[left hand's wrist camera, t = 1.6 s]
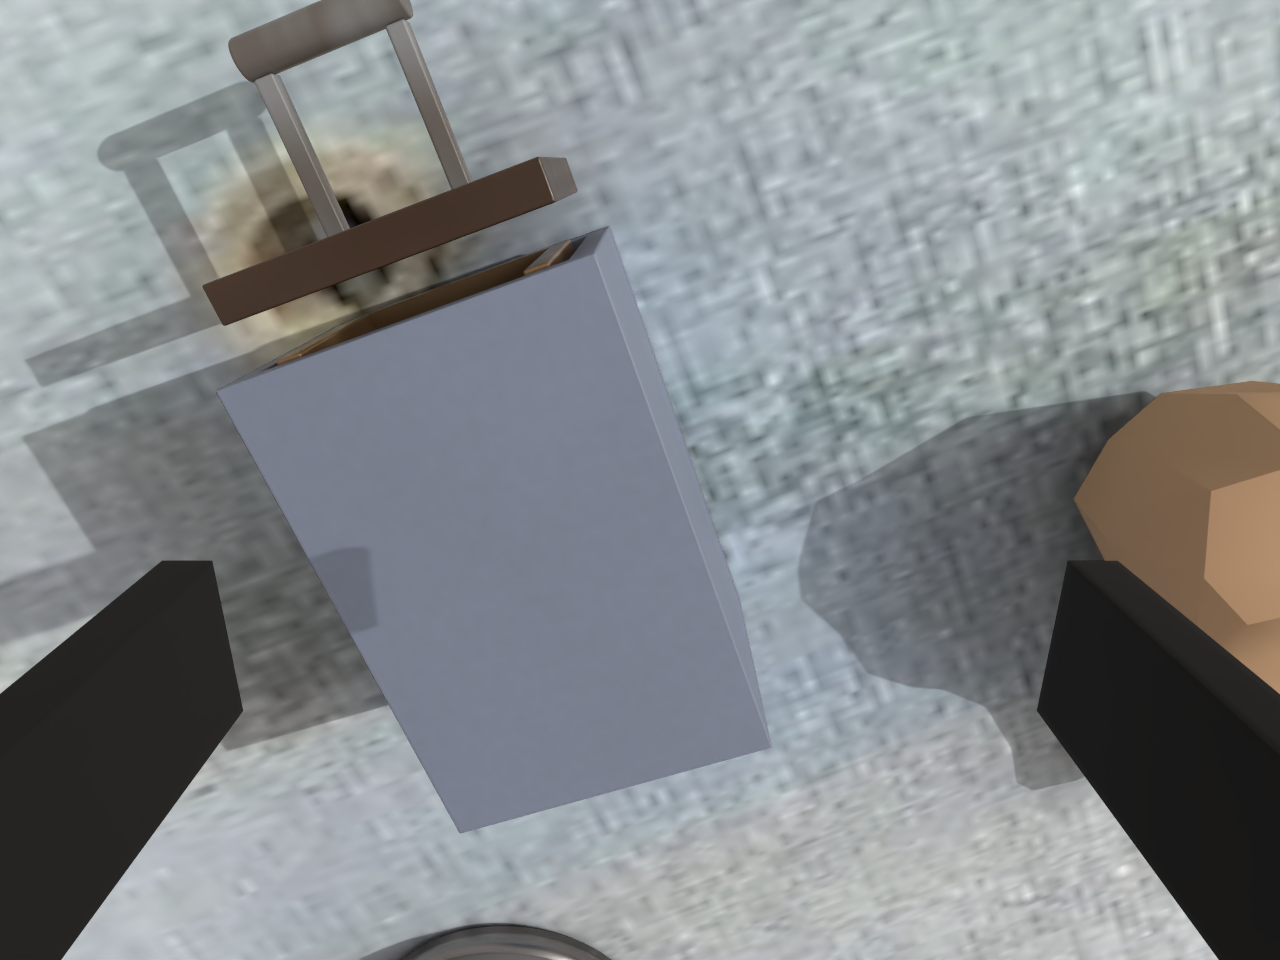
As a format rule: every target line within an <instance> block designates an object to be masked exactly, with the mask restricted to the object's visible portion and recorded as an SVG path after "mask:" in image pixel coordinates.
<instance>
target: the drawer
mask: <svg viewBox="0 0 1280 960" xmlns="http://www.w3.org/2000/svg"><path fill="white" fill-rule="evenodd" d="M412 16H413V10H412V6H411V3H410V0H321V1H318V2H316V3H314V4H311V5H309V6H306V7H304V8H302V9H299V10H297V11H295V12H292V13H290V14H288V15H285V16H283V17H281V18H278V19H276V20H273V21H271V22H269V23H266V24H264V25H262V26H259V27H257V28H255V29H252V30H250V31H247V32H245V33H243V34H240V35H238V36H236V37H233V38H231V39H230V40H229V43H228V46H229V51H230V54H231V56H232V59H233V61H234V63H235V64H236V66H237V68H238V69H239V71H240V72H241V73H242V75H243V76H244V77H245V78H246V79H247V80H248V81H250V82H254V83H256V86H257V88H258V90H259V92H260V94H261V96H262V98H263V101H264V103H265V105H266V107H267V109H268V111H269V113H270V115H271V118H272V120H273V122H274V124H275V126H276V128H277V130H278V133H279V135H280V137H281V139H282V141H283V143H284V145H285V147H286V150H287V152H288V154H289V156H290V158H291V160H292V162H293V164H294V167H295V169H296V171H297V173H298V175H299V177H300V179H301V182H302V184H303V186H304V188H305V190H306V192H307V194H308V196H309V199H310V201H311V203H312V205H313V207H314V209H315V211H316V214H317V216H318V218H319V220H320V222H321V224H322V226H323V228H324V231H325V233H326V235H327V238H324V239H322V240H319V241H317V242H314V243H311V244H309V245H306V246H303V247H301V248H298V249H296V250H293V251H290V252H288V253H285V254H283V255H280V256H277V257H275V258H272V259H270V260H267V261H264V262H262V263H259V264H256V265H254V266H251V267H249V268H246V269H243V270H241V271H238V272H236V273H233V274H230V275H228V276H225V277H223V278H220V279H217V280H215V281H212V282H209V283H207V284H204V285H203V289H204V291H205V292H206V294H207V296H208V298H209V300H210V302H211V304H212V306H213V307H214V309H215V311H216V313H217V315H218V317H219V319H220V321H221V322H222V324H223V325H224V326H226V325H229V324H231V323H234V322H237V321H239V320H242V319H245V318H247V317H250V316H253V315H255V314H258V313H261V312H263V311H266V310H269V309H271V308H274V307H277V306H279V305H282V304H285V303H287V302H290V301H293V300H295V299H298V298H301V297H303V296H306V295H309V294H311V293H314V292H317V291H319V290H322V289H325V288H327V287H330V286H333V285H335V284H338V283H341V282H343V281H346V280H349V279H351V278H354V277H357V276H359V275H362V274H365V273H367V272H370V271H373V270H375V269H378V268H381V267H383V266H386V265H389V264H391V263H394V262H397V261H400V260H402V259H405V258H408V257H410V256H413V255H416V254H418V253H421V252H424V251H426V250H429V249H432V248H434V247H437V246H440V245H442V244H445V243H448V242H450V241H453V240H456V239H458V238H461V237H464V236H466V235H469V234H472V233H474V232H477V231H480V230H482V229H485V228H488V227H490V226H493V225H496V224H498V223H501V222H504V221H506V220H509V219H512V218H514V217H517V216H520V215H522V214H525V213H528V212H530V211H533V210H536V209H538V208H541V207H544V206H546V205H549V204H552V203H554V202H557V201H559V200H561V199H563V198H565V197H567V196H570V195H572V194H574V193H576V192H577V188H576V185H575V182H574V179H573V176H572V174H571V171H570V168H569V165H568V162H567V160H566V158H552V157H536V158H533V159H531V160H528V161H525V162H523V163H520V164H518V165H515V166H512V167H510V168H507V169H505V170H502V171H499V172H497V173H494V174H492V175H489V176H486V177H484V178H481V179H478V180H476V181H472V179H471V176H470V174H469V171H468V169H467V166H466V164H465V161H464V159H463V156H462V154H461V151H460V149H459V146H458V144H457V141H456V139H455V136H454V134H453V131H452V129H451V126H450V124H449V121H448V119H447V116H446V114H445V111H444V109H443V106H442V104H441V101H440V99H439V96H438V94H437V91H436V89H435V86H434V84H433V81H432V79H431V76H430V73H429V71H428V68H427V66H426V63H425V61H424V58H423V56H422V53H421V51H420V48H419V46H418V43H417V41H416V38H415V36H414V33H413V31H412V28H411V26H410V23H409V22H407V21H406V20H408V19H410V18H412ZM384 29H386V30H387V32H388V35H389V37H390V40H391V42H392V44H393V47H394V49H395V52H396V54H397V57H398V59H399V62H400V64H401V66H402V69H403V71H404V74H405V76H406V79H407V81H408V84H409V86H410V88H411V91H412V93H413V96H414V98H415V101H416V103H417V106H418V108H419V111H420V113H421V115H422V118H423V120H424V123H425V125H426V128H427V130H428V133H429V135H430V137H431V140H432V142H433V145H434V147H435V150H436V152H437V155H438V157H439V159H440V162H441V164H442V167H443V169H444V172H445V174H446V177H447V179H448V182H449V184H450V186H451V189H452V190H450V191H447V192H444V193H442V194H439V195H437V196H434V197H431V198H429V199H426V200H424V201H421V202H418V203H416V204H413V205H411V206H408V207H405V208H403V209H400V210H397V211H395V212H392V213H390V214H387V215H384V216H382V217H379V218H377V219H374V220H371V221H369V222H366V223H364V224H361V225H358V226H356V227H353V228H349V226H348V223H347V221H346V219H345V217H344V215H343V213H342V210H341V208H340V206H339V204H338V202H337V199H336V197H335V195H334V193H333V191H332V189H331V186H330V184H329V182H328V180H327V178H326V175H325V173H324V171H323V169H322V167H321V165H320V162H319V160H318V158H317V156H316V154H315V151H314V149H313V147H312V145H311V143H310V141H309V138H308V136H307V134H306V132H305V130H304V127H303V125H302V123H301V121H300V119H299V117H298V114H297V112H296V110H295V108H294V106H293V103H292V101H291V99H290V97H289V95H288V92H287V90H286V88H285V86H284V84H283V82H282V79H281V77H280V76H279V75H276V74H278V73H280V72H282V71H285V70H287V69H290V68H292V67H294V66H297V65H299V64H302V63H304V62H307V61H309V60H311V59H314V58H316V57H319V56H321V55H323V54H326V53H328V52H331V51H333V50H336V49H338V48H340V47H343V46H345V45H348V44H350V43H352V42H355V41H357V40H360V39H362V38H364V37H367V36H369V35H372V34H374V33H377V32H379V31H381V30H384ZM574 252H575V249H574V247H573V244H572V241H571V240H565V241H563V242H560V243H557V244H554V245H552V246H549V247H546V248H543V249H541V250H538V251H535V252H533V253H530V254H527V255H524V256H522V257H519V258H516V259H514V260H511V261H508V262H505V263H503V264H500V265H497V266H495V267H492V268H489V269H486V270H484V271H481V272H478V273H475V274H473V275H470V276H467V277H465V278H462V279H459V280H456V281H454V282H451V283H448V284H446V285H443V286H440V287H437V288H435V289H432V290H429V291H427V292H424V293H421V294H418V295H416V296H413V297H410V298H407V299H405V300H402V301H399V302H397V303H394V304H391V305H388V306H386V307H383V308H380V309H378V310H375V311H372V312H369V313H367V314H364V315H361V316H358V317H356V318H355V319H353V320H351V321H349V322H347V323H345V324H343V325H342V326H340V327H338V328H336V329H334V330H332V331H330V332H329V333H327V334H325V335H323V336H321V337H319V338H318V339H316V340H314V341H312V342H310V343H308V344H307V345H305V346H303V347H301V348H299V349H297V350H295V351H294V352H292V353H290V354H288V355H286V356H284V357H283V358H281V359H279V360H277V365H278V366H279V365H281V364H284V363H287V362H290V361H292V360H295V359H298V358H301V357H303V356H306V355H309V354H312V353H314V352H317V351H320V350H323V349H325V348H328V347H331V346H334V345H336V344H339V343H342V342H345V341H347V340H350V339H353V338H356V337H358V336H361V335H364V334H367V333H369V332H372V331H375V330H378V329H380V328H383V327H386V326H389V325H391V324H394V323H397V322H400V321H402V320H405V319H408V318H411V317H413V316H416V315H419V314H421V313H424V312H427V311H430V310H432V309H435V308H438V307H441V306H443V305H446V304H449V303H452V302H454V301H457V300H460V299H463V298H465V297H468V296H471V295H474V294H476V293H479V292H482V291H485V290H487V289H490V288H493V287H496V286H498V285H501V284H504V283H507V282H509V281H512V280H515V279H518V278H520V277H523V276H526V275H529V274H531V273H534V272H537V271H540V270H542V269H545V268H548V267H551V266H553V265H556V264H559V263H562V262H564V261H567V260H569V259H570V258H571V256H572V255H573V254H574Z"/></svg>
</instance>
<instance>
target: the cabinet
mask: <svg viewBox="0 0 1280 960" xmlns="http://www.w3.org/2000/svg"><path fill="white" fill-rule="evenodd" d="M571 241H572V244H573V247H574V249H575V252H574V254H573V255H572V256H571V258H570V259H569V260H567V261H564V262H562V263H559V264H556V265H553V266H551V267H548V268H545V269H542V270H540V271H537V272H534V273H531V274H529V275H526V276H523V277H520V278H518V279H515V280H512V281H509V282H507V283H504V284H501V285H498V286H496V287H493V288H490V289H487V290H485V291H482V292H479V293H476V294H474V295H471V296H468V297H465V298H463V299H460V300H457V301H454V302H452V303H449V304H446V305H443V306H441V307H438V308H435V309H432V310H430V311H427V312H424V313H421V314H419V315H416V316H413V317H411V318H408V319H405V320H402V321H400V322H397V323H394V324H391V325H389V326H386V327H383V328H380V329H378V330H375V331H372V332H369V333H367V334H364V335H361V336H358V337H356V338H353V339H350V340H347V341H345V342H342V343H339V344H336V345H334V346H331V347H328V348H325V349H323V350H320V351H317V352H314V353H312V354H309V355H306V356H303V357H301V358H298V359H295V360H292V361H290V362H287V363H284V364H281V365H279V366H278V365H277V360H279V359H281V358H283V357H284V356H286V355H288V354H290V353H292V352H294V351H295V350H297V349H299V348H301V347H303V346H305V345H307V344H308V343H310V342H312V341H314V340H316V339H318V338H319V337H321V336H323V335H325V334H327V333H329V332H330V331H332V330H334V329H336V328H338V327H340V326H342V325H343V324H341V325H338V326H336V327H334V328H332V329H330V330H329V331H327V332H325V333H323V334H321V335H319V336H317V337H316V338H314V339H312V340H310V341H308V342H306V343H304V344H303V345H301V346H299V347H297V348H295V349H293V350H291V351H290V352H288V353H286V354H284V355H282V356H280V357H278V358H276V359H275V360H273V361H271V362H269V363H267V364H265V365H263V366H262V367H260V368H258V369H256V370H254V371H252V372H250V373H249V374H247V375H245V376H243V377H241V378H239V379H237V380H235V381H234V382H232V383H230V384H228V385H226V386H224V387H222V388H220V389H218V390H217V391H216V393H217V395H218V396H219V398H220V400H221V402H222V404H223V405H224V407H225V409H226V411H227V413H228V414H229V416H230V418H231V420H232V422H233V424H234V425H235V427H236V429H237V431H238V433H239V434H240V436H241V438H242V440H243V442H244V443H245V445H246V447H247V449H248V451H249V453H250V454H251V456H252V458H253V460H254V462H255V463H256V465H257V467H258V469H259V471H260V472H261V474H262V476H263V478H264V480H265V481H266V483H267V485H268V487H269V489H270V491H271V492H272V494H273V496H274V498H275V500H276V501H277V503H278V505H279V507H280V509H281V510H282V512H283V514H284V516H285V518H286V520H287V521H288V523H289V525H290V527H291V529H292V530H293V532H294V534H295V536H296V538H297V539H298V541H299V543H300V545H301V547H302V548H303V550H304V552H305V554H306V556H307V558H308V559H309V561H310V563H311V565H312V567H313V568H314V570H315V572H316V574H317V576H318V577H319V579H320V581H321V583H322V585H323V586H324V588H325V590H326V592H327V594H328V596H329V597H330V599H331V601H332V603H333V605H334V606H335V608H336V610H337V612H338V614H339V615H340V617H341V619H342V621H343V623H344V625H345V626H346V628H347V630H348V632H349V634H350V635H351V637H352V639H353V641H354V643H355V644H356V646H357V648H358V650H359V652H360V653H361V655H362V657H363V659H364V661H365V663H366V664H367V666H368V668H369V670H370V672H371V673H372V675H373V677H374V679H375V681H376V682H377V684H378V686H379V688H380V690H381V692H382V693H383V695H384V697H385V699H386V701H387V702H388V704H389V706H390V708H391V710H392V711H393V713H394V715H395V717H396V719H397V720H398V722H399V724H400V726H401V728H402V730H403V731H404V733H405V735H406V737H407V739H408V740H409V742H410V744H411V746H412V748H413V749H414V751H415V753H416V755H417V757H418V758H419V760H420V762H421V764H422V766H423V768H424V769H425V771H426V773H427V775H428V777H429V778H430V780H431V782H432V784H433V786H434V787H435V789H436V791H437V793H438V795H439V797H440V798H441V800H442V802H443V804H444V806H445V807H446V809H447V811H448V813H449V815H450V816H451V818H452V820H453V822H454V824H455V825H456V827H457V829H458V831H459V833H463V832H467V831H471V830H474V829H478V828H481V827H485V826H489V825H492V824H496V823H500V822H503V821H507V820H510V819H514V818H518V817H521V816H525V815H529V814H532V813H536V812H539V811H543V810H547V809H550V808H554V807H558V806H561V805H565V804H568V803H572V802H576V801H579V800H583V799H587V798H590V797H594V796H597V795H601V794H605V793H608V792H612V791H616V790H619V789H623V788H626V787H630V786H634V785H637V784H641V783H645V782H648V781H652V780H655V779H659V778H663V777H666V776H670V775H674V774H677V773H681V772H684V771H688V770H692V769H695V768H699V767H703V766H706V765H710V764H713V763H717V762H721V761H724V760H728V759H732V758H735V757H739V756H742V755H746V754H750V753H753V752H757V751H761V750H764V749H768V748H771V747H772V745H771V740H770V736H769V731H768V728H767V722H766V718H765V713H764V709H763V704H762V699H761V695H760V690H759V686H758V681H757V676H756V672H755V667H754V663H753V658H752V653H751V649H750V644H749V639H748V635H747V630H746V626H745V621H744V616H743V612H742V607H741V602H740V599H739V596H738V593H737V590H736V587H735V585H734V582H733V579H732V576H731V573H730V570H729V567H728V564H727V562H726V559H725V556H724V553H723V550H722V547H721V544H720V541H719V539H718V536H717V533H716V530H715V527H714V524H713V521H712V518H711V516H710V513H709V510H708V507H707V504H706V501H705V498H704V496H703V493H702V490H701V487H700V484H699V481H698V478H697V475H696V473H695V470H694V467H693V464H692V461H691V458H690V455H689V452H688V450H687V447H686V444H685V441H684V438H683V435H682V432H681V429H680V427H679V424H678V421H677V418H676V415H675V412H674V409H673V407H672V404H671V401H670V398H669V395H668V392H667V389H666V386H665V384H664V381H663V378H662V375H661V372H660V369H659V366H658V363H657V361H656V358H655V355H654V352H653V349H652V346H651V343H650V340H649V338H648V335H647V332H646V329H645V326H644V323H643V320H642V318H641V315H640V312H639V309H638V306H637V303H636V300H635V297H634V295H633V292H632V289H631V286H630V283H629V280H628V277H627V274H626V272H625V269H624V266H623V263H622V260H621V257H620V254H619V252H618V249H617V246H616V243H615V240H614V237H613V234H612V231H611V229H610V227H609V226H608V227H605V228H602V229H599V230H597V231H594V232H591V233H589V234H586V235H583V236H580V237H578V238H575V239H572V240H571ZM346 323H347V322H346ZM344 324H345V323H344Z"/></svg>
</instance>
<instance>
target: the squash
mask: <svg viewBox="0 0 1280 960" xmlns="http://www.w3.org/2000/svg"><path fill="white" fill-rule="evenodd" d="M1074 501H1075V503H1076V505H1077V507H1078V509H1079V511H1080V513H1081V515H1082V517H1083V519H1084V521H1085V523H1086V525H1087V527H1088V529H1089V531H1090V533H1091V535H1092V537H1093V538H1094V540H1095V542H1096V544H1097V546H1098V548H1099V550H1100V552H1101V554H1102V556H1103V558H1104V560H1105V561H1119V562H1120V563H1121V564H1122V565H1124V566H1125V567H1126V568H1127V569H1128V570H1130V571H1131V572H1132V573H1133V574H1135V575H1136V576H1137V577H1138V578H1139V579H1141V580H1142V581H1143V582H1144V583H1145V584H1147V585H1148V586H1149V587H1150V588H1152V589H1153V590H1154V591H1155V592H1156V593H1158V594H1159V595H1160V596H1161V597H1163V598H1164V599H1165V600H1166V601H1167V602H1169V603H1170V604H1171V605H1172V606H1173V607H1175V608H1176V609H1177V610H1178V611H1180V612H1181V613H1182V614H1183V615H1184V616H1186V617H1187V618H1188V619H1189V620H1190V621H1192V622H1193V623H1194V624H1195V625H1197V626H1198V627H1199V628H1200V629H1201V630H1203V631H1204V632H1205V633H1206V634H1207V635H1209V636H1210V637H1211V638H1212V639H1214V640H1215V641H1216V642H1217V643H1218V644H1220V645H1221V646H1222V647H1223V648H1224V649H1226V650H1227V651H1228V652H1229V653H1231V654H1232V655H1233V656H1234V657H1235V658H1237V659H1238V660H1239V661H1240V662H1241V663H1243V664H1244V665H1245V666H1246V667H1248V668H1249V669H1250V670H1251V671H1252V672H1254V673H1255V674H1256V675H1257V676H1258V677H1260V678H1261V679H1262V680H1263V681H1265V682H1266V683H1267V684H1268V685H1269V686H1271V687H1272V688H1273V689H1274V690H1276V691H1277V692H1278V693H1279V694H1280V384H1276V383H1266V382H1257V381H1249V382H1242V383H1234V384H1227V385H1219V386H1212V387H1204V388H1197V389H1190V390H1182V391H1175V392H1167V393H1161V394H1160V395H1158V396H1157V397H1156V398H1155V399H1154V400H1153V401H1152V402H1151V403H1149V404H1148V405H1147V406H1146V407H1145V408H1144V409H1143V410H1141V411H1140V412H1139V413H1138V414H1137V415H1136V416H1135V417H1133V418H1132V419H1131V420H1130V421H1129V422H1128V423H1127V424H1125V425H1124V426H1123V427H1122V428H1121V429H1120V430H1119V431H1118V432H1116V433H1115V434H1114V435H1113V436H1112V437H1111V438H1110V439H1108V441H1107V443H1106V444H1105V446H1104V448H1103V450H1102V451H1101V453H1100V455H1099V456H1098V458H1097V460H1096V462H1095V463H1094V465H1093V467H1092V468H1091V470H1090V472H1089V474H1088V475H1087V477H1086V479H1085V480H1084V482H1083V484H1082V485H1081V487H1080V489H1079V491H1078V492H1077V494H1076V496H1075V497H1074Z"/></svg>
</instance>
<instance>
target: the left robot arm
mask: <svg viewBox="0 0 1280 960" xmlns="http://www.w3.org/2000/svg"><path fill="white" fill-rule="evenodd" d="M242 711H243V708H242V703H241V698H240V693H239V688H238V684H237V679H236V674H235V669H234V664H233V659H232V654H231V650H230V645H229V640H228V635H227V630H226V625H225V621H224V616H223V611H222V606H221V601H220V596H219V591H218V587H217V582H216V577H215V572H214V567H213V562H212V561H161V562H160V563H159V564H158V565H156V566H155V567H154V568H153V569H152V570H150V571H149V572H148V573H147V574H145V575H144V576H143V577H142V578H141V579H139V580H138V581H137V582H136V583H135V584H133V585H132V586H131V587H130V588H128V589H127V590H126V591H125V592H124V593H122V594H121V595H120V596H119V597H117V598H116V599H115V600H114V601H113V602H111V603H110V604H109V605H108V606H107V607H105V608H104V609H103V610H102V611H100V612H99V613H98V614H97V615H96V616H94V617H93V618H92V619H91V620H90V621H88V622H87V623H86V624H85V625H83V626H82V627H81V628H80V629H79V630H77V631H76V632H75V633H74V634H73V635H71V636H70V637H69V638H68V639H66V640H65V641H64V642H63V643H62V644H60V645H59V646H58V647H57V648H56V649H54V650H53V651H52V652H51V653H49V654H48V655H47V656H46V657H45V658H43V659H42V660H41V661H40V662H39V663H37V664H36V665H35V666H34V667H32V668H31V669H30V670H29V671H28V672H26V673H25V674H24V675H23V676H22V677H20V678H19V679H18V680H17V681H15V682H14V683H13V684H12V685H11V686H9V687H8V688H7V689H6V690H4V691H3V692H2V693H1V694H0V960H61V959H62V958H63V956H64V955H65V954H66V952H67V951H68V950H69V948H70V947H71V946H72V944H73V943H74V941H75V940H76V939H77V937H78V936H79V935H80V933H81V932H82V930H83V929H84V928H85V926H86V925H87V924H88V922H89V921H90V920H91V918H92V917H93V915H94V914H95V913H96V911H97V910H98V909H99V907H100V906H101V904H102V903H103V902H104V900H105V899H106V898H107V896H108V895H109V894H110V892H111V891H112V889H113V888H114V887H115V885H116V884H117V883H118V881H119V880H120V878H121V877H122V876H123V874H124V873H125V872H126V870H127V869H128V867H129V866H130V865H131V863H132V862H133V861H134V859H135V858H136V857H137V855H138V854H139V852H140V851H141V850H142V848H143V847H144V846H145V844H146V843H147V841H148V840H149V839H150V837H151V836H152V835H153V833H154V832H155V831H156V829H157V828H158V826H159V825H160V824H161V822H162V821H163V820H164V818H165V817H166V815H167V814H168V813H169V811H170V810H171V809H172V807H173V806H174V805H175V803H176V802H177V800H178V799H179V798H180V796H181V795H182V794H183V792H184V791H185V789H186V788H187V787H188V785H189V784H190V783H191V781H192V780H193V779H194V777H195V776H196V774H197V773H198V772H199V770H200V769H201V768H202V766H203V765H204V763H205V762H206V761H207V759H208V758H209V757H210V755H211V754H212V753H213V751H214V750H215V748H216V747H217V746H218V744H219V743H220V742H221V740H222V739H223V737H224V736H225V735H226V733H227V732H228V731H229V729H230V728H231V727H232V725H233V724H234V722H235V721H236V720H237V718H238V717H239V716H240V714H241V713H242ZM1037 711H1038V713H1039V714H1040V716H1041V717H1042V718H1043V720H1044V721H1045V722H1046V724H1047V725H1048V727H1049V728H1050V729H1051V731H1052V732H1053V733H1054V735H1055V736H1056V737H1057V739H1058V740H1059V742H1060V743H1061V744H1062V746H1063V747H1064V748H1065V750H1066V751H1067V753H1068V754H1069V755H1070V757H1071V758H1072V759H1073V761H1074V762H1075V763H1076V765H1077V766H1078V768H1079V769H1080V770H1081V772H1082V773H1083V774H1084V776H1085V777H1086V779H1087V780H1088V781H1089V783H1090V784H1091V785H1092V787H1093V788H1094V789H1095V791H1096V792H1097V794H1098V795H1099V796H1100V798H1101V799H1102V800H1103V802H1104V803H1105V805H1106V806H1107V807H1108V809H1109V810H1110V811H1111V813H1112V814H1113V815H1114V817H1115V818H1116V820H1117V821H1118V822H1119V824H1120V825H1121V826H1122V828H1123V829H1124V831H1125V832H1126V833H1127V835H1128V836H1129V837H1130V839H1131V840H1132V841H1133V843H1134V844H1135V846H1136V847H1137V848H1138V850H1139V851H1140V852H1141V854H1142V855H1143V857H1144V858H1145V859H1146V861H1147V862H1148V863H1149V865H1150V866H1151V868H1152V869H1153V870H1154V872H1155V873H1156V874H1157V876H1158V877H1159V878H1160V880H1161V881H1162V883H1163V884H1164V885H1165V887H1166V888H1167V889H1168V891H1169V892H1170V894H1171V895H1172V896H1173V898H1174V899H1175V900H1176V902H1177V903H1178V904H1179V906H1180V907H1181V909H1182V910H1183V911H1184V913H1185V914H1186V915H1187V917H1188V918H1189V920H1190V921H1191V922H1192V924H1193V925H1194V926H1195V928H1196V929H1197V930H1198V932H1199V933H1200V935H1201V936H1202V937H1203V939H1204V940H1205V941H1206V943H1207V944H1208V946H1209V947H1210V948H1211V950H1212V951H1213V952H1214V954H1215V955H1216V956H1217V958H1218V959H1219V960H1280V694H1279V693H1278V692H1277V691H1276V690H1274V689H1273V688H1272V687H1271V686H1269V685H1268V684H1267V683H1266V682H1265V681H1263V680H1262V679H1261V678H1260V677H1258V676H1257V675H1256V674H1255V673H1254V672H1252V671H1251V670H1250V669H1249V668H1248V667H1246V666H1245V665H1244V664H1243V663H1241V662H1240V661H1239V660H1238V659H1237V658H1235V657H1234V656H1233V655H1232V654H1231V653H1229V652H1228V651H1227V650H1226V649H1224V648H1223V647H1222V646H1221V645H1220V644H1218V643H1217V642H1216V641H1215V640H1214V639H1212V638H1211V637H1210V636H1209V635H1207V634H1206V633H1205V632H1204V631H1203V630H1201V629H1200V628H1199V627H1198V626H1197V625H1195V624H1194V623H1193V622H1192V621H1190V620H1189V619H1188V618H1187V617H1186V616H1184V615H1183V614H1182V613H1181V612H1180V611H1178V610H1177V609H1176V608H1175V607H1173V606H1172V605H1171V604H1170V603H1169V602H1167V601H1166V600H1165V599H1164V598H1163V597H1161V596H1160V595H1159V594H1158V593H1156V592H1155V591H1154V590H1153V589H1152V588H1150V587H1149V586H1148V585H1147V584H1145V583H1144V582H1143V581H1142V580H1141V579H1139V578H1138V577H1137V576H1136V575H1135V574H1133V573H1132V572H1131V571H1130V570H1128V569H1127V568H1126V567H1125V566H1124V565H1122V564H1121V563H1120V562H1119V561H1068V562H1067V567H1066V572H1065V577H1064V582H1063V587H1062V591H1061V596H1060V601H1059V606H1058V611H1057V616H1056V621H1055V625H1054V630H1053V635H1052V640H1051V645H1050V650H1049V654H1048V659H1047V664H1046V669H1045V674H1044V679H1043V684H1042V688H1041V693H1040V698H1039V703H1038V708H1037ZM402 960H611V959H610V958H608V957H607V956H606V955H604V954H602V953H601V952H599V951H598V950H596V949H594V948H592V947H590V946H588V945H586V944H584V943H582V942H580V941H577V940H575V939H572V938H570V937H567V936H564V935H561V934H557V933H554V932H549V931H545V930H540V929H534V928H528V927H516V926H492V927H481V928H473V929H468V930H463V931H458V932H455V933H451V934H448V935H445V936H442V937H440V938H437V939H434V940H432V941H430V942H428V943H426V944H424V945H422V946H421V947H419V948H417V949H416V950H414V951H412V952H411V953H410V954H408V955H407V956H406V957H405V958H403V959H402Z"/></svg>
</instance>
